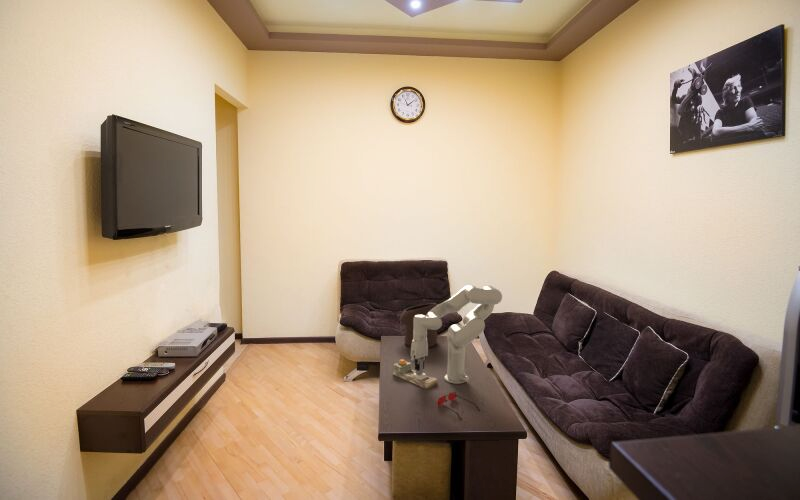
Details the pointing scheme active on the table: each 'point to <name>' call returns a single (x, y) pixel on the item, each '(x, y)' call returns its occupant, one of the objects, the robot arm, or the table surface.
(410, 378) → the board
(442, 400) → the glasses
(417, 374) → the carriage
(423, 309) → the vase
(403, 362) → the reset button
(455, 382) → the robot arm
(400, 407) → the table surface
